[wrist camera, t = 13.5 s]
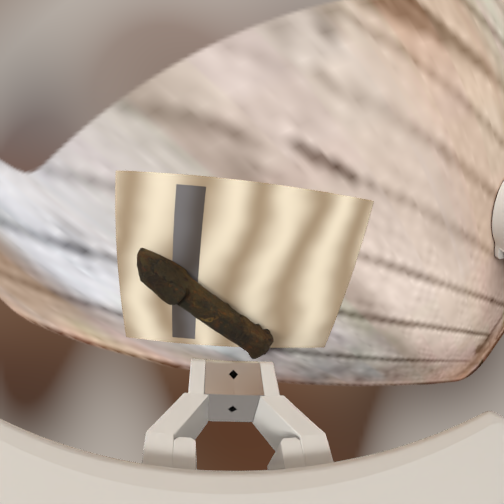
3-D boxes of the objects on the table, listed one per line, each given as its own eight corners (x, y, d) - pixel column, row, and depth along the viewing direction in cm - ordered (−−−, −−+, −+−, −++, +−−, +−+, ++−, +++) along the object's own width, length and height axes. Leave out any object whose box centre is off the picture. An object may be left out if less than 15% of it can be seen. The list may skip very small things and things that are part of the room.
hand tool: (272, 326, 37) (278, 351, 33) (249, 343, 38) (253, 368, 34) (157, 229, 30) (148, 247, 25) (135, 253, 30) (124, 274, 26)
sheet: (369, 198, 32) (373, 201, 31) (322, 342, 41) (324, 347, 40) (118, 169, 27) (115, 170, 26) (127, 332, 36) (126, 337, 35)
